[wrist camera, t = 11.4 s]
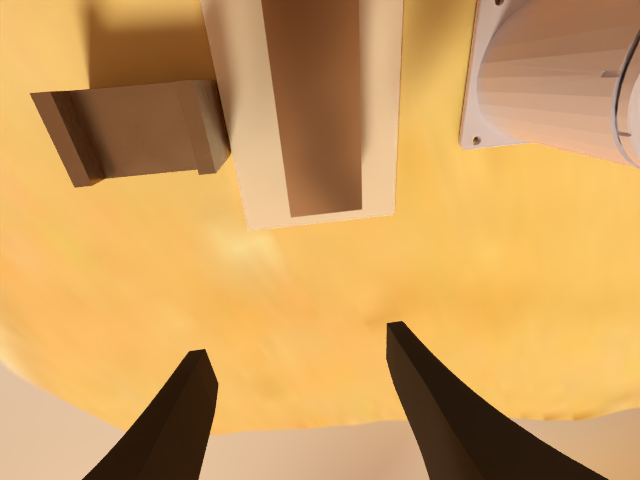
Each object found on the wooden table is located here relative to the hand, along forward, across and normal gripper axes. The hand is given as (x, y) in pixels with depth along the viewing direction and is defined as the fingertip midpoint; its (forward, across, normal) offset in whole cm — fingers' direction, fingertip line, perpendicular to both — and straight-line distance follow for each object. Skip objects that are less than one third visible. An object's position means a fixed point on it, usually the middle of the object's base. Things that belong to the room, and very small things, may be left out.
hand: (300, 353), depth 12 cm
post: (+10, +6, -8) cm, 15 cm away
